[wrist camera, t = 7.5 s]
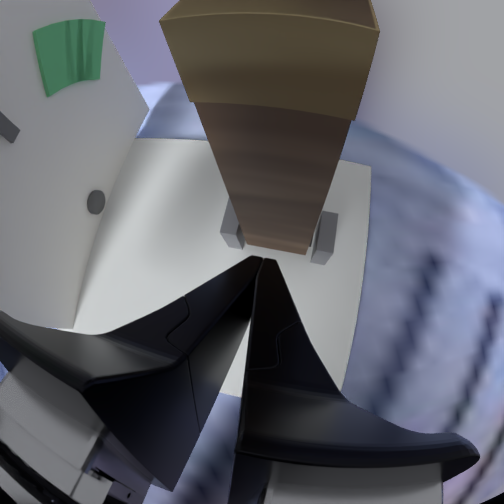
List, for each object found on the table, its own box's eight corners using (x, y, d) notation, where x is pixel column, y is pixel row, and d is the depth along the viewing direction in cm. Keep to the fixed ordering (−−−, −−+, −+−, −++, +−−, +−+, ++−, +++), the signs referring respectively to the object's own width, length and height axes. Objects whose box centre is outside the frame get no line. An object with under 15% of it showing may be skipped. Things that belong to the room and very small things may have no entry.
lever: (308, 259, 14) (389, 34, 2) (244, 247, 15) (150, 22, 3) (314, 222, 15) (374, -11, 3) (252, 211, 15) (197, -21, 3)
